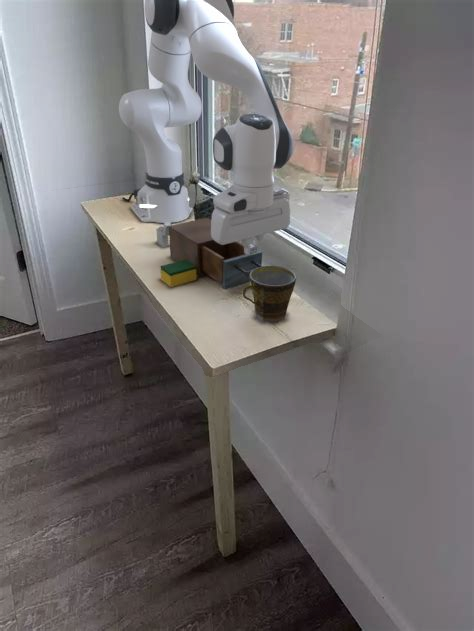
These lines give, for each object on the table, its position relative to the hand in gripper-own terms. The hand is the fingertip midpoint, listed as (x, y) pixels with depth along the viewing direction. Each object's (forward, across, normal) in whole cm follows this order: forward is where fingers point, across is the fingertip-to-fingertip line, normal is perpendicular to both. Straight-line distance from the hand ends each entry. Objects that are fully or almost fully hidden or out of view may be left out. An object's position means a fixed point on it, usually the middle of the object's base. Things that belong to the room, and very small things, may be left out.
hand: (251, 253), depth 118 cm
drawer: (+9, 0, -6) cm, 11 cm away
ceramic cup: (+10, +4, +12) cm, 16 cm away
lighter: (+11, +4, -36) cm, 38 cm away
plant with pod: (+11, -10, -38) cm, 41 cm away
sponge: (+10, +11, -15) cm, 21 cm away
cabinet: (+10, 0, -21) cm, 24 cm away
